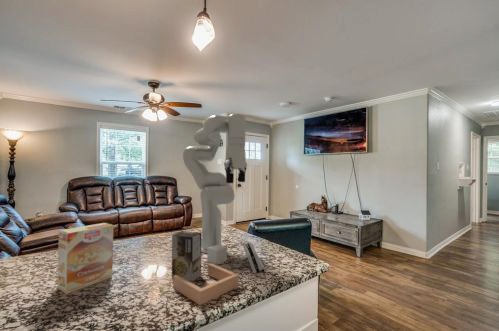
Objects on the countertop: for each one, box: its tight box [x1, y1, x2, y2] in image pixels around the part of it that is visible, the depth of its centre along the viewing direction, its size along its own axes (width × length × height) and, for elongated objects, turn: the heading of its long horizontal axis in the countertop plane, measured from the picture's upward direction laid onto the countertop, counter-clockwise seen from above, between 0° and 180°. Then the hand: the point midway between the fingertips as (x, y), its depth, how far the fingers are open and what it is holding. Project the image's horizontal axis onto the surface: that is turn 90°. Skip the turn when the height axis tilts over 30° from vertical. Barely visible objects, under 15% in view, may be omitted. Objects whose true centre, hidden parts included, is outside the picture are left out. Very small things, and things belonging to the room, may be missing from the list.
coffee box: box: [171, 230, 202, 283], centre depth 92 cm, size 9×6×16 cm
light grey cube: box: [206, 245, 228, 266], centre depth 108 cm, size 6×6×6 cm
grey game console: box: [242, 241, 267, 274], centre depth 104 cm, size 17×5×10 cm, turn 9°
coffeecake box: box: [57, 222, 114, 295], centre depth 86 cm, size 15×7×20 cm, turn 148°
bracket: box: [172, 262, 240, 306], centre depth 84 cm, size 15×16×4 cm
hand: (235, 182), depth 107 cm, fingers open, 9 cm apart
